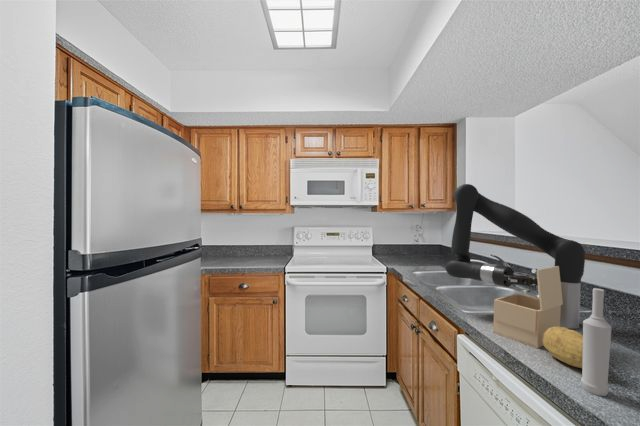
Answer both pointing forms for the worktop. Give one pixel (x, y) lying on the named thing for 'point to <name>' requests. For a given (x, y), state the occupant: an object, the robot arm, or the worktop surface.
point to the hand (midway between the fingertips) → (549, 283)
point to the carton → (524, 319)
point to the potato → (564, 345)
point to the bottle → (596, 348)
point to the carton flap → (549, 287)
